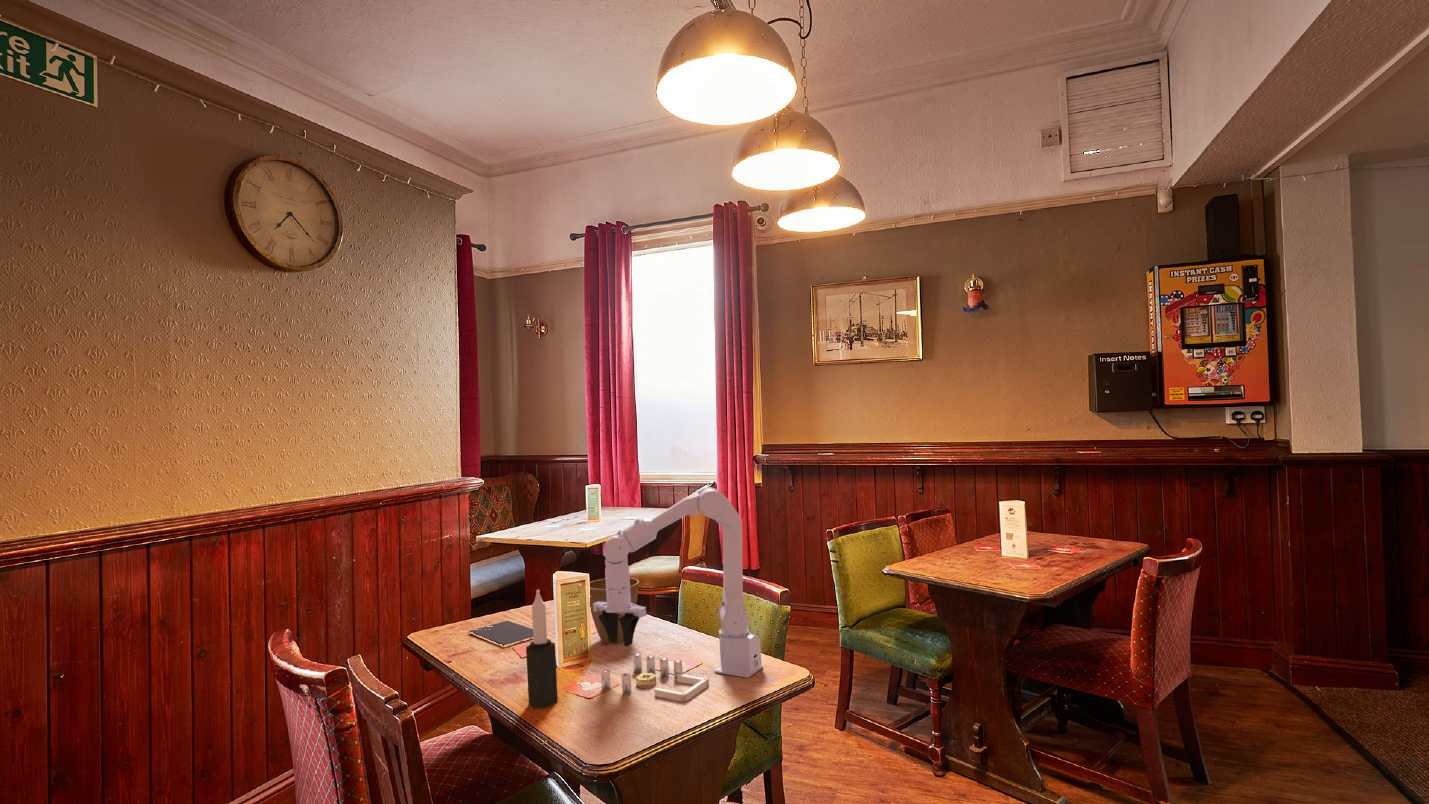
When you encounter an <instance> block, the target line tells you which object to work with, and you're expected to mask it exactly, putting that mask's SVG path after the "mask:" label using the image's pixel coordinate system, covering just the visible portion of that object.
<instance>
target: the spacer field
mask: <svg viewBox="0 0 1429 804" xmlns="http://www.w3.org/2000/svg"><path fill="white" fill-rule="evenodd" d="M655 657H656V656H655V655H652V654H650V655H646V657H645V658H646V673H653V674H654V675H656V660H655V659H656V658H655ZM632 658H633V672H634V673H641V672H642V671H643V663H642V662H643V661H642V653H641V652H636V653H634V654H633V657H632ZM669 667H670V666H669V658H668V657H660V658H659V669H660V670H659V671H660V673H659V674H660V677H661V678H667V677H669V675H670V671H669V670H670V669H669ZM683 672H684V671H683V660H682V659H675V660H673V679H674V680H676V681H677V675H678V674H683ZM600 674H601V675H600V676H601V690H602V691H610V690H611V689H612V687H611V686H612V685H611V684H612V683H611V671H610V669H604V670H601V671H600ZM683 675H684V674H683ZM631 676H632V675H631V673H623V674H621V689H622V695H626V696H627V695H630V694H632V677H631Z"/></svg>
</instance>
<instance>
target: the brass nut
mask: <svg viewBox="0 0 1429 804" xmlns="http://www.w3.org/2000/svg"><path fill="white" fill-rule="evenodd" d="M635 677H636V678H635V683H636V685H637V686H638V687H639V688H641V689H644V688H645V689H646V688H653V686H655V685H657V675H656V674H653V673H647V672H642V673H640V674H638V675H637V676H635Z"/></svg>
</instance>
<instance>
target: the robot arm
mask: <svg viewBox="0 0 1429 804" xmlns="http://www.w3.org/2000/svg"><path fill="white" fill-rule="evenodd" d="M699 512H701V514H702V515H704V516H705V517H706V518H709V519H712V520H714V521H715V522H716V523H717V524H718V525H720V526H721V528H722V564H723V565H722V566H723V567H722V571H723V572H722V574H723V575H722V577H723V581H722V585H723V590H722V595H721V598H722V600H721V601H722V602H721V604H720V606H719V607H718V608H719V609H718V618H719V620H720V621H721V627H720V629H719V630H718V635H719V653H720V666H718V667H717V668H715V669H714V670H713V672H714V673H717V674H723V675H727V676H734V677H740V678H741V677H742V678H745V679H748V678H750V677H751V676H753V675H754V674H755V673H757V672H758V671H760V670H761V669H762V668H763V667H764V665H763V664H762V651H761V640H760V637H759V636H758V635H757V634H753V633H752V632H750V630H749V618H748V616H747V613H746V611H745V600H744V593H743V592H744V590H743V589H744V588H743V586H744V583H743V579H744V578H743V574H744V573H743V567H744V566H743V565H744V564H743V519H742V518H741V516H740V514H739V513H738V511H737V510H736V509H735V507H734V506H733V504H732V503H731V502H730V499H728V498H727V496H726V495H725V494H723V493H722V492H721V491H720V490H718V489H716V488H715V487H709V486H707V487H704V488H702V489H701V490H700V491H699V492H698V491H696V492H694V493H691V494H690V495H687V496H686V497H684V498H682V499H681V500H679V501H677V502H676V503H675V504H673V505H672V506H670V507H669V508H667V509H665V510H664V511H662V512H661V513H659V514H658V515H656V516H655V517H653V518H651V519H650V518H645V517H643V518H641V519H640V518H636V519H634V521H633V524H631V525H630V526H628V527H627V528H624V529H623V530H621V529H619V530H617V532H616V534H617V535H616V534H615V535H611V536H609V537H608V538H607V539H606V541H605V543H604V545H603V556H604V558H605V560H604V565H605V569H604V574H605V577H604V579H606V598H607V602H596V603H593V611H594V612H598V611H602V615H600V616H599V620H600V621H601V622H602V624H603V626H604V628H605V630H606V633H607V636H608V639H609V642H610V644H609V645H613V644H617V643H616V642H617V640H618V619H619V621H620V623H621V627H622V631H623V640H624V642H623V645H624V647H630V646H631V645H633V639H634V634H635V630H636V627H637V624H638V622H639V620H640V618H643V617H646V616H647V607H646V606H643V605H642V606H641V605H638V604H636V605H635V604H632V603H631V595H630V578H631V577H630V566H629V564H628V562H629V561H628V555H629V553H635V552H636V551H638V550H639V549H641V548H643V547H644V546H646V545H648V544H649V543H651V542H653V541H654V540H656V539H657V535H658V532H659V531H661V530H662V529H664V528H666V527H668V526H669V525H672V524H673V523H675V522H677V521H678V520H680V519H683V518H684V517H686V516H697V517H699V516H700V513H699ZM619 614H625V616H623V617H621V618H619Z"/></svg>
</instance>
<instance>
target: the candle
mask: <svg viewBox="0 0 1429 804" xmlns="http://www.w3.org/2000/svg"><path fill="white" fill-rule="evenodd" d="M540 592H541V591H540V589H536V591H535V593H536V595H535V598H534V601H533V603H532V605H531V614H532V615H531V618H532V629H533V639H532V640H533V641H530V642H529V645H527V646H526V647H525V650H526V651H525V653H526V655H525V656H526V670H527V671H526V673H527V690H528V692H527V693H528V706H529V705H530V706H529V707H531V708H535V709H540V708H541V709H542V708H543V709H546V708H548V707H549V705H550V706H551V705H554V704H556V703H557V702H558V701H559V699H558V681H557V678H558V677H557V661H556V660H557V659H556V643H555V642H552V640H551V639H549V638H548V634H547V633H548V631H547V611H546V610H547V609H546V603H545V602H544V601H543V599H542V595H541V594H540ZM541 709H540V710H541Z"/></svg>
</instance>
